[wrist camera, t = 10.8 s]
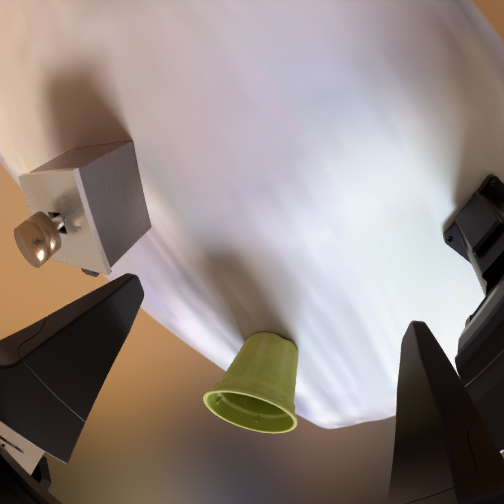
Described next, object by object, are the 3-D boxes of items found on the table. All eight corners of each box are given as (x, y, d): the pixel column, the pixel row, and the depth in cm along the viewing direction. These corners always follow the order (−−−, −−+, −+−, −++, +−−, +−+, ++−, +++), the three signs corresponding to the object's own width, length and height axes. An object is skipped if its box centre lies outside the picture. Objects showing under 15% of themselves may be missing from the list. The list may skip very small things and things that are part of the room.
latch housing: (134, 138, 21) (73, 170, 16) (157, 246, 27) (116, 294, 22) (71, 147, 24) (18, 176, 18) (97, 237, 30) (57, 274, 24)
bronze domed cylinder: (107, 174, 22) (28, 229, 15) (117, 210, 24) (47, 271, 17) (82, 175, 23) (9, 226, 16) (92, 208, 25) (26, 263, 18)
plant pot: (218, 322, 32) (185, 386, 25) (299, 316, 27) (277, 395, 21) (251, 370, 36) (229, 427, 29) (322, 369, 31) (307, 436, 25)
